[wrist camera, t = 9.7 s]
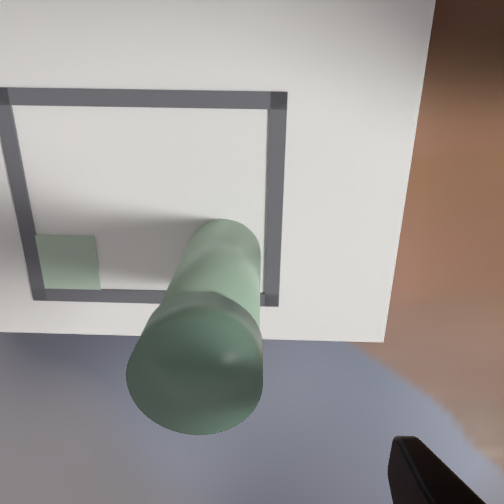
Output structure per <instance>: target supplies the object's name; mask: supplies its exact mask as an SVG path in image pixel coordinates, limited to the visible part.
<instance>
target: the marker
mask: <svg viewBox="0 0 504 504" xmlns="http://www.w3.org/2000/svg"><path fill="white" fill-rule="evenodd" d="M260 278H261V249H260V245H259V242H258V240H257V238H256V236H255V235H254V233H253V232H252V231H251V230H250V229H249V228H247V227H246V226H245V225H243V224H241V223H239V222H237V221H234V220H229V219H218V220H213V221H210V222H208V223H205V224H204V225H202V226H201V227H200V228H198V229H197V230H196V231H195V233H194V234H193V236H192V237H191V239H190V242H189V244H188V246H187V248H186V250H185V252H184V254H183V256H182V258H181V261H180V263H179V265H178V267H177V269H176V271H175V273H174V275H173V278H172V280H171V282H170V284H169V286H168V288H167V290H166V292H165V294H164V297H163V299H162V301H161V303H160V305H159V307H158V308H157V309H156V310H155V311H154V312H153V313H152V315H151V316H150V318H149V319H148V321H147V323H146V325H145V328H144V330H143V332H142V334H141V336H140V338H139V340H138V342H137V344H136V346H135V348H134V350H133V352H132V354H131V356H130V358H129V361H128V364H127V370H126V381H127V386H128V389H129V392H130V395H131V397H132V399H133V401H134V402H135V404H136V405H137V406H138V408H139V409H140V410H141V411H142V412H143V413H144V414H145V415H146V416H147V417H148V418H150V419H151V420H152V421H154V422H155V423H157V424H159V425H161V426H163V427H165V428H167V429H170V430H172V431H176V432H179V433H184V434H191V435H208V434H215V433H219V432H223V431H226V430H228V429H230V428H233V427H235V426H237V425H238V424H240V423H241V422H243V421H244V420H245V419H246V418H247V417H248V416H249V415H250V414H251V413H252V412H253V411H254V409H255V408H256V406H257V404H258V402H259V400H260V397H261V394H262V387H263V340H262V335H261V332H260Z"/></svg>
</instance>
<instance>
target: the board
mask: <svg viewBox="0 0 504 504" xmlns="http://www.w3.org/2000/svg"><path fill="white" fill-rule="evenodd" d="M435 2H436V0H0V332H25V333H26V332H27V333H61V334H97V335H100V334H102V335H135V336H136V335H137V336H141V334H142V332H143V330H144V328H145V325H146V323H147V321H148V319H149V318H150V316H151V315H152V313H153V312H154V311H155V310H156V309H157V308H158V307H159V305H160V303H161V301H162V299H163V297H164V294H165V292H166V290H167V288H168V286H169V284H170V282H171V280H172V278H173V275H174V273H175V271H176V269H177V267H178V265H179V263H180V261H181V258H182V256H183V254H184V252H185V250H186V248H187V246H188V244H189V242H190V239H191V237H192V236H193V234H194V233H195V231H196V230H197V229H198V228H200V227H201V226H202V225H204V224H205V223H208V222H210V221H213V220H218V219H229V220H234V221H237V222H239V223H241V224H243V225H245V226H246V227H247V228H249V229H250V230H251V231H252V232H253V233H254V235H255V236H256V238H257V240H258V242H259V245H260V249H261V278H260V332H261V335H262V339H282V340H319V341H355V342H384V335H385V329H386V322H387V316H388V309H389V302H390V296H391V289H392V283H393V276H394V270H395V263H396V257H397V250H398V244H399V237H400V231H401V224H402V218H403V211H404V204H405V198H406V191H407V185H408V178H409V172H410V165H411V159H412V152H413V146H414V139H415V133H416V126H417V119H418V113H419V106H420V100H421V93H422V87H423V80H424V74H425V67H426V61H427V54H428V48H429V41H430V35H431V28H432V21H433V15H434V8H435Z"/></svg>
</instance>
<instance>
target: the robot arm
mask: <svg viewBox="0 0 504 504" xmlns="http://www.w3.org/2000/svg"><path fill="white" fill-rule="evenodd" d="M388 479H389V485H390V490H391V495H392V500H393V504H486V503H485V502H484V501H483V500H481V499H480V498H479V497H478V496H477V495H476V494H475V493H474V492H473V491H472V490H471V489H470V488H469V487H468V486H467V485H466V484H465V483H464V482H463V481H462V480H461V479H460V478H459V477H458V476H457V475H456V474H455V473H454V472H453V471H451V470H450V469H449V468H448V467H447V466H446V465H445V464H444V463H443V462H442V461H441V460H440V459H439V458H438V457H437V456H436V455H435V454H434V453H433V452H432V451H431V450H430V449H429V448H428V447H427V446H426V445H425V444H424V443H423V442H422V441H421V440H419V439H418V438H416V437H414V436H396V437H394V439H393V442H392V447H391V452H390V458H389V463H388Z"/></svg>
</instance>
